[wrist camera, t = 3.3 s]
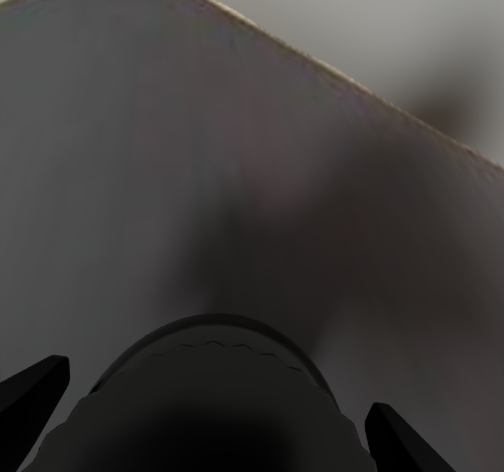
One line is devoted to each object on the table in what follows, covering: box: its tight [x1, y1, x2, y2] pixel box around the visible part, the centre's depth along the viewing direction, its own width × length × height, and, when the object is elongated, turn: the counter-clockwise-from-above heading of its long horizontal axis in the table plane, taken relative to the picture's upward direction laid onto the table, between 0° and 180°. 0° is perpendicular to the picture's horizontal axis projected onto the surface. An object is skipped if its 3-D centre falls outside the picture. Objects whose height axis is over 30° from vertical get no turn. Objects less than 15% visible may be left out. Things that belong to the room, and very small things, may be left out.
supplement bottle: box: [22, 313, 378, 472], centre depth 8 cm, size 7×7×12 cm
